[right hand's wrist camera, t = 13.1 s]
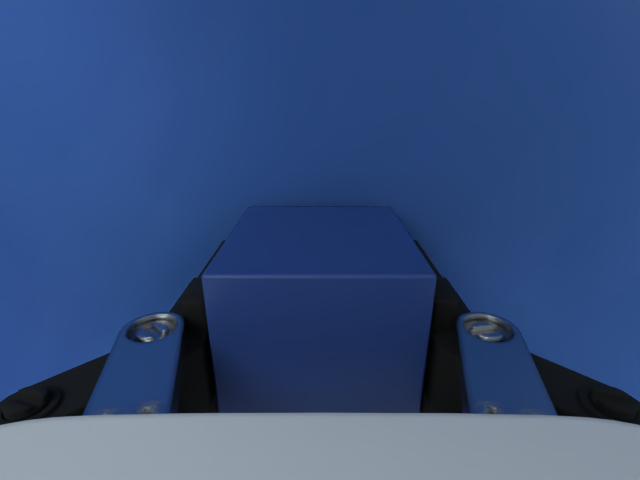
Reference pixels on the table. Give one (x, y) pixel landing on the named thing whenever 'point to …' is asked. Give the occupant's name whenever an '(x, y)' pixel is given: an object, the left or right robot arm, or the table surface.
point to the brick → (319, 312)
